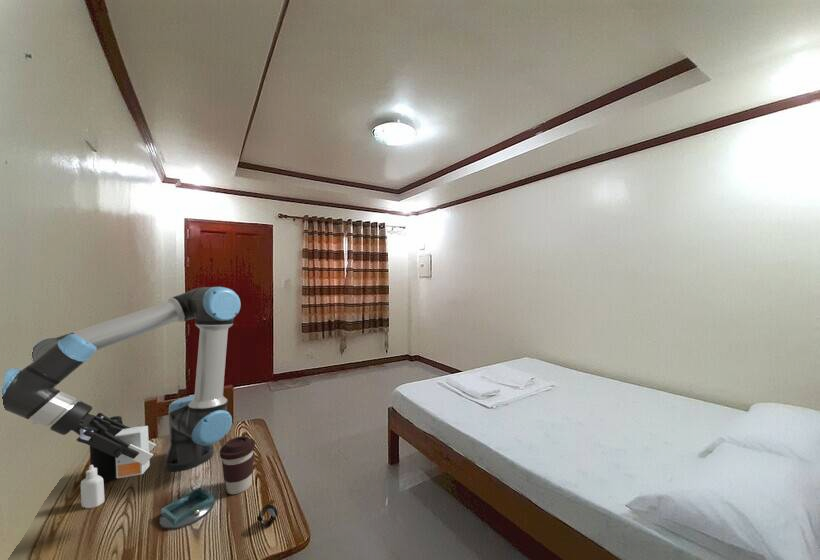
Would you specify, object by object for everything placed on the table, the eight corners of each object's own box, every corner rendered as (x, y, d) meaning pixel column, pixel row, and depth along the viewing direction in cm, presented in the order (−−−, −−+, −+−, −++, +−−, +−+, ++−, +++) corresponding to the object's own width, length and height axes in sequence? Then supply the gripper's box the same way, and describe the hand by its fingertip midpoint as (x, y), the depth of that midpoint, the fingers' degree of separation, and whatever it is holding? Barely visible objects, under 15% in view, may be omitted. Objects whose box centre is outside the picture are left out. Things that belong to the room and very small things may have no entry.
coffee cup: (241, 500, 95) (239, 451, 94) (213, 496, 97) (211, 448, 96) (263, 478, 104) (261, 434, 104) (237, 475, 106) (235, 432, 106)
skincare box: (115, 479, 84) (113, 436, 84) (125, 470, 88) (122, 428, 88) (142, 474, 86) (140, 432, 85) (150, 465, 90) (148, 424, 90)
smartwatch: (279, 524, 85) (278, 506, 85) (258, 534, 82) (258, 515, 82) (274, 515, 88) (274, 498, 88) (255, 524, 85) (254, 506, 85)
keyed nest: (151, 518, 88) (150, 509, 88) (201, 490, 100) (200, 482, 100) (172, 537, 82) (172, 527, 82) (223, 504, 93) (223, 496, 93)
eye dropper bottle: (100, 496, 98) (98, 458, 98) (105, 503, 95) (103, 464, 95) (80, 505, 94) (78, 466, 94) (85, 512, 91) (83, 472, 91)
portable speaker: (123, 466, 114) (121, 412, 113) (128, 476, 108) (125, 420, 107) (89, 478, 107) (87, 421, 107) (93, 489, 101) (90, 430, 101)
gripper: (62, 413, 86) (143, 451, 95) (32, 443, 70) (132, 485, 80) (88, 390, 88) (164, 429, 98) (65, 413, 73) (158, 457, 83)
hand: (150, 454), depth 89 cm, fingers closed on skincare box, 6 cm apart
